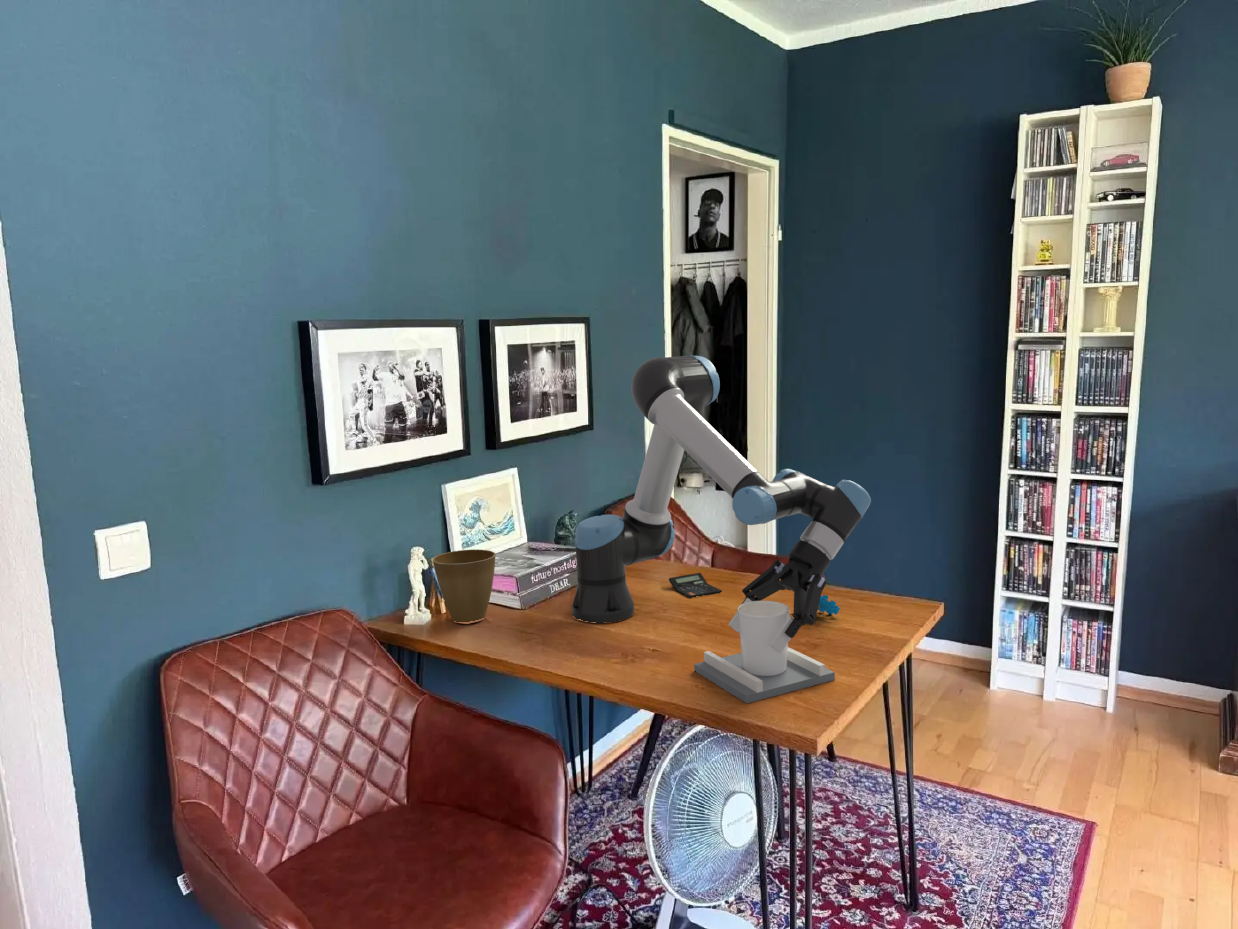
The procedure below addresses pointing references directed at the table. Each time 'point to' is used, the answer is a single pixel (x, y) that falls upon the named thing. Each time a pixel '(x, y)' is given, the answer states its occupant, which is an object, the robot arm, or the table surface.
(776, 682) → the grey tray with rails
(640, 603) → the table surface
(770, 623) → the candle holder
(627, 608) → the robot arm
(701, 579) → the calculator
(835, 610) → the gear
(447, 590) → the plant pot
